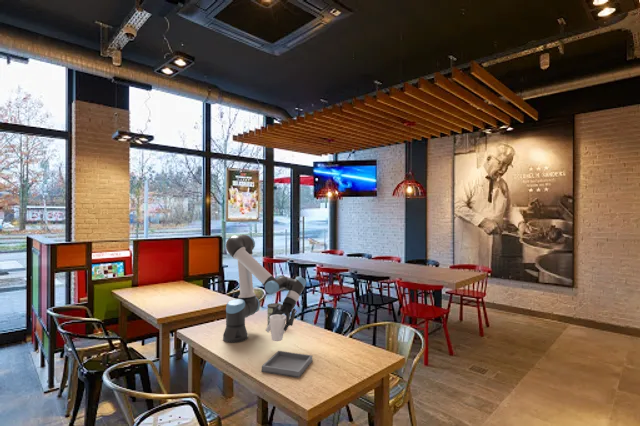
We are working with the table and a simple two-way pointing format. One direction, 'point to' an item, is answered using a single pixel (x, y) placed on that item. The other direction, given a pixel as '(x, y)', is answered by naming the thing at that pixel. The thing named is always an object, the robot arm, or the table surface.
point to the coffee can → (271, 309)
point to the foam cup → (276, 326)
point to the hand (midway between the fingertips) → (273, 333)
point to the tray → (287, 364)
